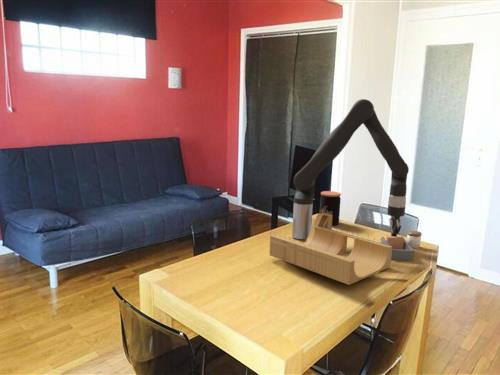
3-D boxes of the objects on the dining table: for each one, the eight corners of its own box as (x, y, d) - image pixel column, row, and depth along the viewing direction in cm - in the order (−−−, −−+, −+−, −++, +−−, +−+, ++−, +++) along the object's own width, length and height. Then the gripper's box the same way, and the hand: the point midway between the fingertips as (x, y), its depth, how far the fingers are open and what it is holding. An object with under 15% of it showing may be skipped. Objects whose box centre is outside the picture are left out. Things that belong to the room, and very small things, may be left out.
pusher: (386, 248, 197) (387, 237, 196) (385, 247, 199) (386, 235, 198) (402, 249, 196) (404, 238, 195) (401, 248, 198) (402, 236, 197)
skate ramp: (269, 257, 184) (270, 220, 181) (320, 241, 208) (322, 209, 205) (348, 287, 155) (351, 244, 152) (398, 265, 179) (401, 227, 176)
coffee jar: (315, 223, 239) (317, 191, 236) (331, 222, 244) (333, 190, 240) (326, 228, 230) (328, 195, 226) (342, 226, 234) (345, 194, 231)
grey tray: (388, 259, 185) (389, 249, 184) (380, 245, 204) (381, 236, 203) (413, 260, 184) (414, 251, 183) (402, 246, 202) (403, 237, 202)
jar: (407, 248, 201) (409, 233, 199) (404, 244, 207) (405, 230, 205) (421, 249, 200) (423, 234, 199) (417, 245, 206) (419, 231, 205)
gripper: (385, 201, 204) (382, 236, 207) (391, 207, 191) (388, 245, 194) (401, 202, 203) (398, 237, 207) (409, 208, 190) (405, 246, 194)
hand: (393, 241), depth 200 cm, fingers closed
